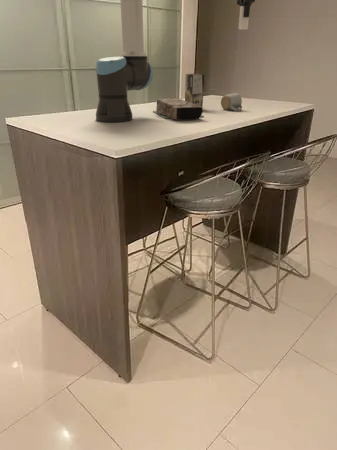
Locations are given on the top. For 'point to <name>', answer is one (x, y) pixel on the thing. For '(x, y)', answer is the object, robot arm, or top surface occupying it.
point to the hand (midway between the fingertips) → (243, 29)
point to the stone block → (178, 109)
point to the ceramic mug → (231, 102)
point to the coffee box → (194, 89)
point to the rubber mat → (166, 116)
